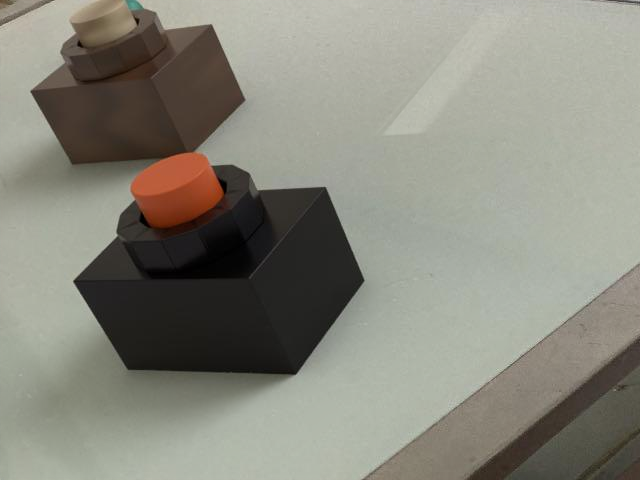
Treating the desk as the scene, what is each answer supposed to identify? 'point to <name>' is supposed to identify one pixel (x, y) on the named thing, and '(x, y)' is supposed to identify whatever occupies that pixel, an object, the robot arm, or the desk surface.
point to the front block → (225, 282)
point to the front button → (176, 190)
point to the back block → (139, 93)
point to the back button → (102, 22)
